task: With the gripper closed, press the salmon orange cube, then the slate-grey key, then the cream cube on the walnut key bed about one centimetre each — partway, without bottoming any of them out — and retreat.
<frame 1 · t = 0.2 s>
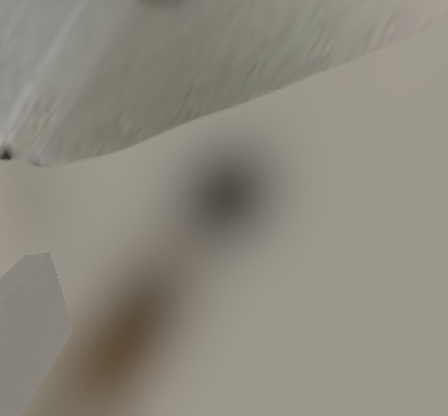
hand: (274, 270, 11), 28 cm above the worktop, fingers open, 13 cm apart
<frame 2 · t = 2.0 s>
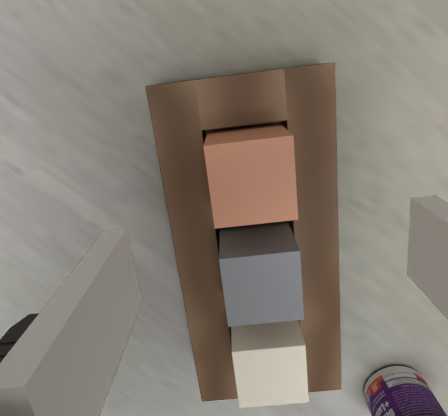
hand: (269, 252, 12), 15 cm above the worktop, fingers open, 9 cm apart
slate key: (259, 269, 24), point 5 cm above the worktop, slide at 0.0 cm
pill bottle: (391, 385, 34), on the worktop
salmon orange cube: (249, 172, 22), point 5 cm above the worktop, slide at 0.0 cm
key bed: (254, 238, 29), on the worktop
cream cube: (267, 351, 27), point 5 cm above the worktop, slide at 0.0 cm
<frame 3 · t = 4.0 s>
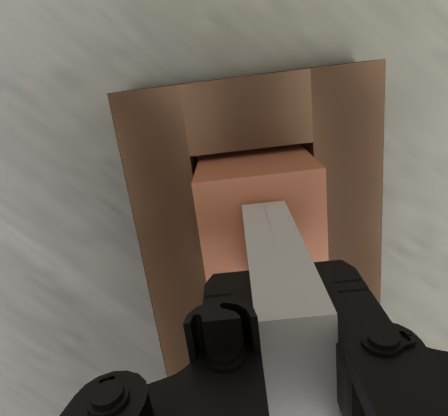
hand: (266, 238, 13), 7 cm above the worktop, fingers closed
salmon orange cube: (257, 213, 16), point 4 cm above the worktop, slide at 0.7 cm, touching gripper
key bed: (261, 291, 22), on the worktop
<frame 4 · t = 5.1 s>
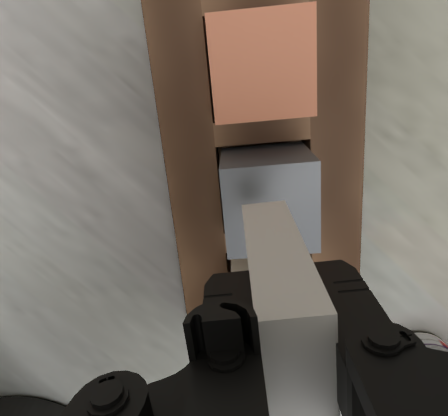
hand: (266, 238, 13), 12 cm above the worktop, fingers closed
slate key: (267, 196, 20), point 5 cm above the worktop, slide at 0.0 cm
pill bottle: (411, 356, 30), on the worktop
salmon orange cube: (259, 67, 19), point 4 cm above the worktop, slide at 0.7 cm
key bed: (260, 172, 25), on the worktop
cream cube: (272, 300, 22), point 5 cm above the worktop, slide at 0.0 cm
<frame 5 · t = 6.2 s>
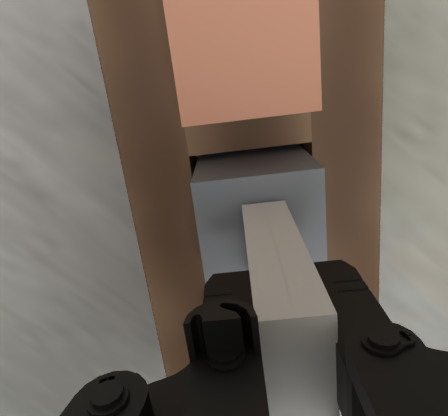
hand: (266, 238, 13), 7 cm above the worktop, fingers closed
slate key: (256, 213, 16), point 4 cm above the worktop, slide at 0.6 cm, touching gripper
salmon orange cube: (241, 48, 14), point 4 cm above the worktop, slide at 0.7 cm
key bed: (250, 185, 20), on the worktop
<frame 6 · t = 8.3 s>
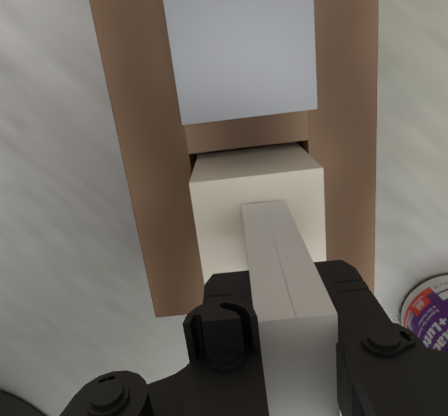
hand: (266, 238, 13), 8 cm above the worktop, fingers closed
slate key: (239, 48, 14), point 4 cm above the worktop, slide at 0.7 cm
pill bottle: (439, 308, 23), on the worktop
key bed: (236, 54, 18), on the worktop
cream cube: (255, 213, 16), point 5 cm above the worktop, slide at 0.1 cm, touching gripper
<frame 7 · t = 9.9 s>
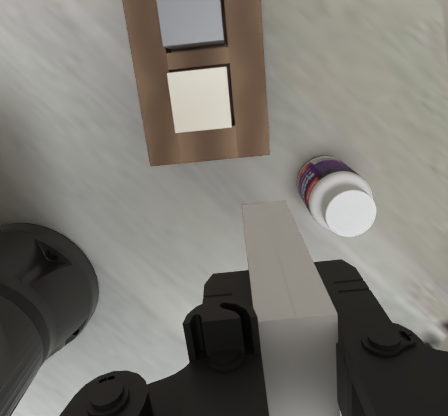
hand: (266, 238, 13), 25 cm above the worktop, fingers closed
slate key: (192, 14, 30), point 4 cm above the worktop, slide at 0.7 cm
pill bottle: (321, 180, 39), on the worktop
key bed: (196, 21, 34), on the worktop
cream cube: (202, 98, 32), point 4 cm above the worktop, slide at 0.7 cm
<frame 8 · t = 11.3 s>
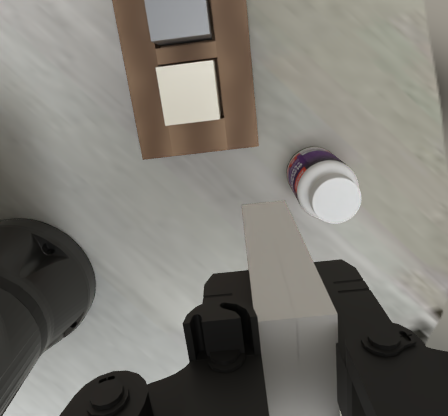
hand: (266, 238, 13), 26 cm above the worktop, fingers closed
slate key: (179, 9, 31), point 4 cm above the worktop, slide at 0.7 cm
pill bottle: (311, 171, 40), on the worktop
key bed: (184, 17, 35), on the worktop
cream cube: (191, 92, 33), point 4 cm above the worktop, slide at 0.7 cm
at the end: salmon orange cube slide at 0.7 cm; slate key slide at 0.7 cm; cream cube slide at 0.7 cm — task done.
